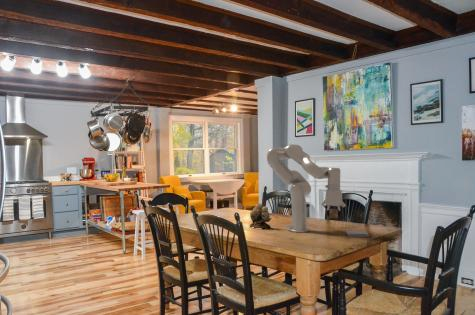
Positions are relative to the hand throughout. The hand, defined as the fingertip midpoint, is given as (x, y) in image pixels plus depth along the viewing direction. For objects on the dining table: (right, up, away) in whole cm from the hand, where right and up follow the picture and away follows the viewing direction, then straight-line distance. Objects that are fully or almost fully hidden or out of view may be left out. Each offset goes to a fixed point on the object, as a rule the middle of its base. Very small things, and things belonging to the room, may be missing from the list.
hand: (333, 216), depth 232 cm
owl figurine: (-44, -12, +28) cm, 53 cm away
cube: (0, -1, 0) cm, 1 cm away
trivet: (+14, -11, -4) cm, 18 cm away
